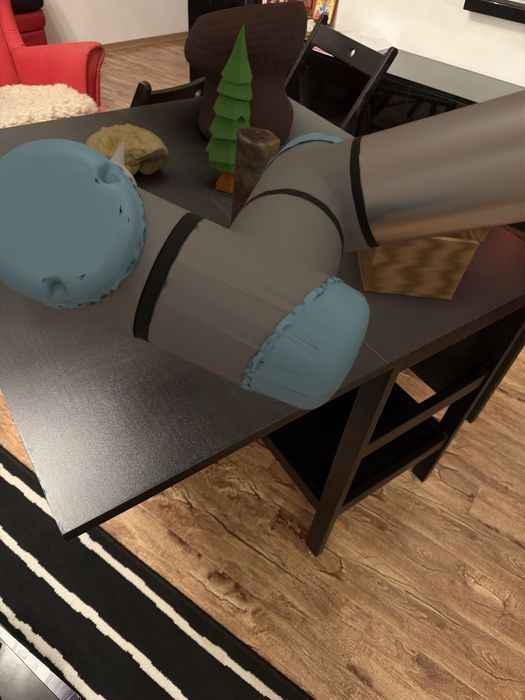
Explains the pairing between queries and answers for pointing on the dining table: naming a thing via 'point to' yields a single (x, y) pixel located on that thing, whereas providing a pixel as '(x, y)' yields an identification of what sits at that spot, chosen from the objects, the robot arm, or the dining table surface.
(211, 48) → the vase
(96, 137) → the beige rounded lump
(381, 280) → the chest
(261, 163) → the brown upright cylinder
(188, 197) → the dining table surface
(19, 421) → the dining table surface
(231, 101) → the decorative tree
